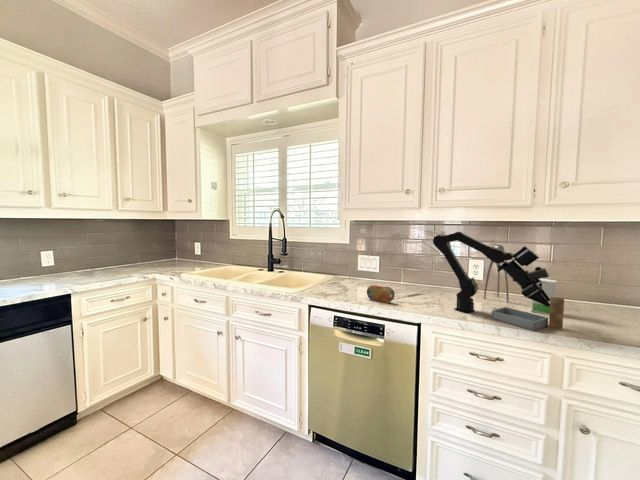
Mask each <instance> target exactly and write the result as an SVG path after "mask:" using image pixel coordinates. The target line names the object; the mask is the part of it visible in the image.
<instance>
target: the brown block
mask: <svg viewBox="0 0 640 480" xmlns="http://www.w3.org/2000/svg"><path fill="white" fill-rule="evenodd" d="M564 306H565V298H564V297H559V296H556V297H551V300H550V315H548V329H553V330H557V331H563V328H564V327H563V325H564V324H563V323H564V308H565V307H564Z"/></svg>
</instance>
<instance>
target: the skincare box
mask: <svg viewBox="0 0 640 480" xmlns="http://www.w3.org/2000/svg"><path fill="white" fill-rule="evenodd" d="M540 280H541V282H542V289H543V290H544V291H545V293H546V294H547V296H548V297H549V298H550V300H551V297H557V293H558V292H557V291H558V280H555V279H549V278H540ZM541 282H538V284H539V283H541ZM531 300H532V299H531ZM548 302H549V304H550V301H548ZM531 312H533V313H538V314H543V315H548V316H550V306H549V307H548V306H545V305H543V304H541V303H539V302H536V301H534V300H532V302H531Z"/></svg>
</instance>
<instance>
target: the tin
mask: <svg viewBox="0 0 640 480" xmlns="http://www.w3.org/2000/svg"><path fill="white" fill-rule="evenodd" d="M395 294H396V293H395V291H394V289H393V288H391V287H390V286H384V285H377V284H373V285H369V286H368V288H367V289H366V295H367V298H368V299H369V300H371V301H373V300H374V301H373V302H378V301H379V302H380V303H384V302H385V304H389V303H391V302H392V301H393V300H394V298H395Z"/></svg>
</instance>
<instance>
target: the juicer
mask: <svg viewBox="0 0 640 480" xmlns="http://www.w3.org/2000/svg"><path fill="white" fill-rule="evenodd" d="M494 247H495V248H498V249H501V250H504V251H505V247H504V245H502V244H497V245H495V246H494ZM505 262H506V260H505V261H504V262H502V263H495V264H496V267H497V266H498V265H502V264H503V263H505ZM493 264H494V262H493V261H491V260H490V263H489V266H488V270H487V273H486V280H485V285H484V292H483V293H484V294H483V299H484V300H485V299H486V297H487V290H488V289H487V288H488V284H489V280H490V279H489V278H490V274H491V271H492V267H493ZM497 269H498V267H497ZM503 271H504V270H503ZM500 272H501V271H499V272H498V271H497V290H496V291H497V293H496V294H497V295H496V296H497V298H499V295H500V277H501V276H500ZM504 279H505V289H506V290H505V291H506V292H505V293H506V303H509V280H508V274H507V273H506V272H505V271H504Z"/></svg>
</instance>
